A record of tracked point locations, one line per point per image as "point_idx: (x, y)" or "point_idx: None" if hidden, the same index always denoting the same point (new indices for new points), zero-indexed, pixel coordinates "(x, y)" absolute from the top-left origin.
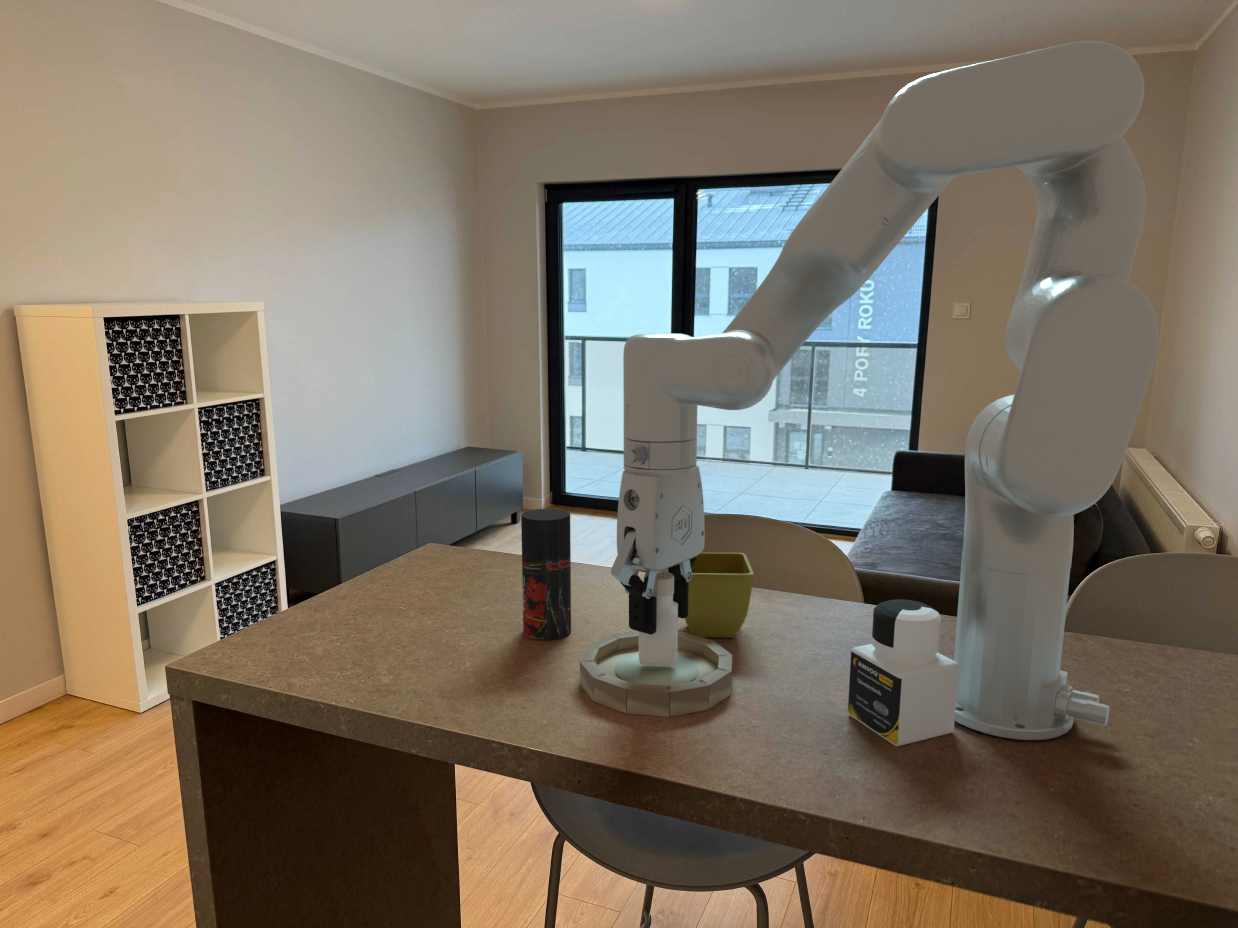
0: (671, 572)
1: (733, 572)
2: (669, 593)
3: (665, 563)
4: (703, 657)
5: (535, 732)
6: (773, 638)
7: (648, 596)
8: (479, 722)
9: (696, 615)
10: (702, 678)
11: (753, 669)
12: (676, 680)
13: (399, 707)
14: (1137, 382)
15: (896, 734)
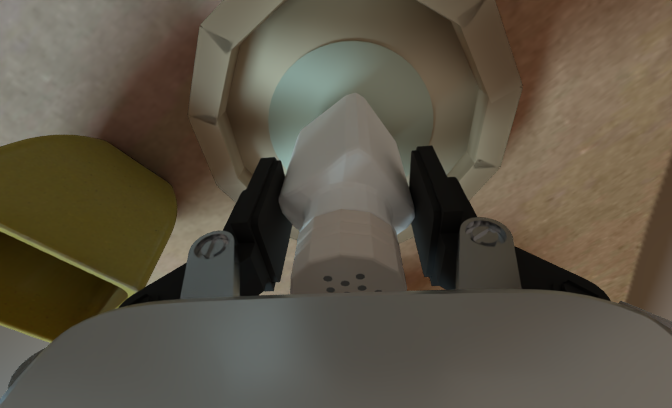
0: (252, 290)
1: None
2: (351, 211)
3: (534, 321)
4: (234, 103)
5: (628, 137)
6: (13, 81)
7: (471, 227)
8: (618, 208)
9: (155, 204)
10: None
11: (148, 5)
12: (367, 65)
13: (606, 283)
14: None
15: None
